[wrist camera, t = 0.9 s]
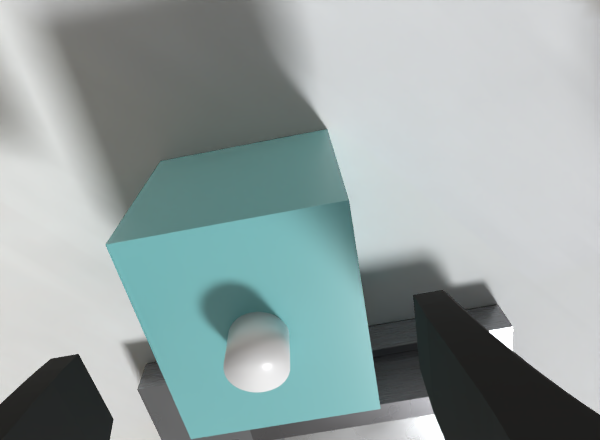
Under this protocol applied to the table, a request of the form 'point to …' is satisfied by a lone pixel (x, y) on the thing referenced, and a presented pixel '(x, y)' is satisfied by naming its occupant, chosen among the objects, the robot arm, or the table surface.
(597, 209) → the table surface
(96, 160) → the table surface
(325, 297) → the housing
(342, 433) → the press bed
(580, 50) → the table surface
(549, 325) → the table surface
